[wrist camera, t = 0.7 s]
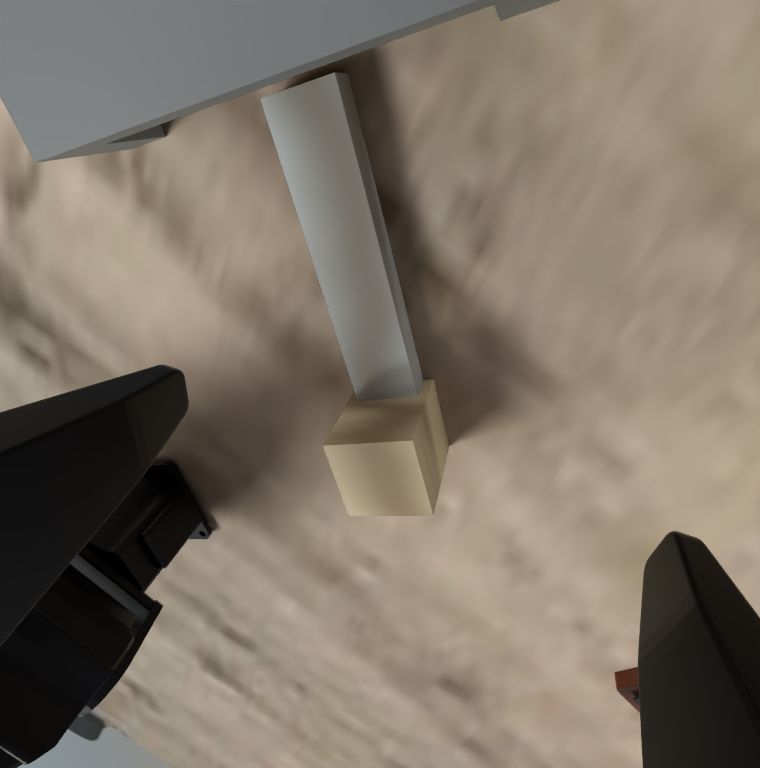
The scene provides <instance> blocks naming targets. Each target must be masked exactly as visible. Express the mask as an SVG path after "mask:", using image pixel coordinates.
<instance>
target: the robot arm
mask: <svg viewBox="0 0 760 768" xmlns="http://www.w3.org/2000/svg"><path fill="white" fill-rule="evenodd" d="M188 404H189V401H188V395H187V389H186V383H185V377H184V374H183V373H182V371H180V370H179V369H176V368H173V367H170V366H167V365H158V366H154V367H151V368H148V369H144V370H141V371H138V372H134V373H131V374H127V375H124V376H121V377H117V378H114V379H111V380H107V381H104V382H101V383H97V384H94V385H91V386H87V387H84V388H80V389H77V390H74V391H70V392H67V393H64V394H60V395H57V396H54V397H50V398H47V399H44V400H40V401H37V402H33V403H30V404H27V405H23V406H20V407H17V408H13V409H10V410H7V411H3V412H0V768H17V767H18V766H20V765H22V764H25V765H27V764H29V763H31V762H33V761H34V760H36V759H37V758H39V757H40V756H42V755H43V754H45V753H46V752H48V751H49V750H51V749H52V748H54V747H55V746H56V745H57V743H58V742H59V740H60V739H61V738H62V736H63V735H64V733H65V732H66V731H67V729H68V728H69V726H70V725H71V724H72V723H73V721H74V720H75V719H76V718H77V716H80V717H83V716H85V715H86V714H88V713H89V712H90V711H92V710H93V709H94V708H95V707H96V706H97V705H98V704H99V703H100V702H101V701H102V700H103V699H104V698H105V697H106V696H107V694H108V693H109V692H110V691H111V690H112V688H113V687H114V686H115V685H116V683H117V682H118V681H119V680H120V678H121V677H122V675H123V674H124V673H125V671H126V670H127V668H128V666H129V665H130V663H131V662H132V660H133V658H134V656H135V655H136V653H137V651H138V649H139V648H140V646H141V644H142V642H143V641H144V639H145V637H146V635H147V634H148V632H149V630H150V628H151V627H152V625H153V623H154V621H155V620H156V618H157V616H158V614H159V613H160V611H161V609H162V607H163V605H162V604H161V603H159V602H158V601H157V600H155V601H154V600H153V599H152V598H150V597H149V596H148V595H147V594H145V593H144V592H145V591H146V590H147V588H148V587H149V586H150V584H151V583H152V582H153V580H154V579H155V578H156V577H157V575H158V574H159V573H160V571H161V570H162V569H163V568H166V567H167V566H168V565H169V564H170V562H171V561H172V560H173V558H174V557H175V556H176V554H177V553H178V552H179V551H180V549H181V548H182V547H183V545H184V544H185V543H186V541H187V540H188V539H208V538H209V536H210V535H211V534H212V530H211V528H210V526H209V524H208V522H207V521H206V519H205V517H204V515H203V513H202V511H201V510H200V508H199V506H198V504H197V502H196V501H195V499H194V497H193V495H192V493H191V492H190V490H189V488H188V486H187V484H186V482H185V481H184V479H183V477H182V475H181V473H180V472H179V470H178V468H177V466H176V465H175V464H174V463H173V462H171V461H154V460H155V458H156V457H157V455H158V454H159V453H160V451H161V450H162V448H163V447H164V445H165V444H166V442H167V441H168V439H169V438H170V436H171V435H172V433H173V432H174V430H175V429H176V427H177V426H178V424H179V423H180V422H181V420H182V419H183V417H184V416H185V414H186V412H187V409H188ZM153 461H154V462H153ZM638 682H639V701H640V720H641V739H642V758H643V768H760V617H759V616H758V615H757V613H756V612H755V611H754V609H753V608H752V607H751V605H750V604H749V603H748V601H747V600H746V599H745V597H744V596H743V594H742V593H741V592H740V590H739V589H738V588H737V586H736V585H735V584H734V582H733V581H732V580H731V578H730V577H729V576H728V574H727V573H726V572H725V570H724V569H723V568H722V566H721V565H720V564H719V562H718V561H717V560H716V558H715V557H714V556H713V554H712V553H711V552H710V550H709V549H708V548H707V546H706V545H705V544H704V543H703V542H702V541H701V540H700V539H698V538H696V537H693V536H690V535H687V534H683V533H680V532H677V531H672V532H670V533H668V534H667V535H666V536H665V538H664V539H663V540H662V542H661V543H660V544H659V545H658V547H657V548H656V549H655V551H654V552H653V553H652V554H651V556H650V557H649V558H648V560H647V562H646V565H645V569H644V577H643V591H642V606H641V620H640V635H639V650H638Z"/></svg>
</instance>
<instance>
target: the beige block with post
mask: <svg viewBox="0 0 760 768" xmlns="http://www.w3.org/2000/svg"><path fill="white" fill-rule="evenodd" d="M260 99H261V102H262V105H263V109H264V112H265V115H266V118H267V121H268V124H269V127H270V130H271V133H272V137H273V140H274V143H275V146H276V149H277V152H278V155H279V158H280V161H281V165H282V168H283V171H284V174H285V177H286V180H287V183H288V186H289V190H290V193H291V196H292V199H293V202H294V205H295V208H296V211H297V214H298V218H299V221H300V224H301V227H302V230H303V233H304V236H305V239H306V242H307V246H308V249H309V252H310V255H311V258H312V261H313V264H314V267H315V270H316V274H317V277H318V280H319V283H320V286H321V289H322V292H323V295H324V298H325V302H326V305H327V308H328V311H329V314H330V317H331V320H332V323H333V327H334V330H335V333H336V336H337V339H338V342H339V345H340V348H341V351H342V355H343V358H344V361H345V364H346V367H347V370H348V373H349V376H350V379H351V383H352V386H353V389H354V393H353V395H352V396H351V398H350V400H349V402H348V403H347V405H346V407H345V408H344V410H343V412H342V414H341V415H340V417H339V419H338V420H337V422H336V424H335V425H334V427H333V429H332V431H331V432H330V434H329V436H328V437H327V439H326V441H325V442H324V444H323V448H324V451H325V454H326V456H327V459H328V462H329V464H330V467H331V470H332V472H333V475H334V478H335V480H336V483H337V486H338V488H339V491H340V494H341V496H342V499H343V502H344V504H345V507H346V510H347V512H348V515H349V516H433V515H434V510H435V506H436V502H437V497H438V493H439V488H440V484H441V480H442V475H443V471H444V467H445V462H446V458H447V454H448V449H449V443H448V439H447V435H446V430H445V426H444V422H443V417H442V413H441V409H440V405H439V400H438V396H437V392H436V388H435V383H434V379H429V380H423V376H422V372H421V368H420V364H419V360H418V356H417V352H416V348H415V344H414V340H413V336H412V332H411V327H410V323H409V319H408V315H407V311H406V307H405V303H404V299H403V295H402V291H401V287H400V283H399V279H398V275H397V271H396V266H395V262H394V258H393V254H392V250H391V246H390V242H389V238H388V234H387V230H386V226H385V222H384V218H383V214H382V209H381V205H380V201H379V197H378V193H377V189H376V185H375V181H374V177H373V173H372V169H371V165H370V161H369V157H368V152H367V148H366V144H365V140H364V136H363V132H362V128H361V124H360V120H359V116H358V112H357V108H356V104H355V100H354V96H353V91H352V87H351V83H350V79H349V75H348V74H346V73H336V72H334V73H331V74H329V75H326V76H323V77H320V78H317V79H314V80H312V81H309V82H306V83H303V84H300V85H297V86H294V87H292V88H289V89H286V90H283V91H280V92H277V93H275V94H272V95H269V96H266V97H263V98H260Z"/></svg>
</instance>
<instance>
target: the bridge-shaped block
mask: <svg viewBox="0 0 760 768" xmlns="http://www.w3.org/2000/svg"><path fill="white" fill-rule="evenodd" d="M556 1H558V0H0V97H1V99H2V101H3V103H4V105H5V107H6V108H7V110H8V112H9V114H10V116H11V118H12V120H13V122H14V124H15V125H16V127H17V129H18V131H19V133H20V135H21V137H22V139H23V141H24V142H25V144H26V146H27V148H28V150H29V152H30V154H31V156H32V158H33V159H34V161H35V163H36V162H43V161H50V160H57V159H64V158H71V157H78V156H85V155H92V154H99V153H106V152H113V151H120V150H127V149H132V148H135V147H138V146H141V145H143V144H146V143H149V142H152V141H155V140H158V139H161V138H164V137H166V135H165V133H164V130H163V128H162V126H161V124H163V123H165V122H168V121H171V120H174V119H177V118H179V117H182V116H185V115H188V114H190V113H193V112H196V111H199V110H202V109H204V108H207V107H210V106H213V105H215V104H218V103H221V102H224V101H227V100H229V99H232V98H235V97H238V96H240V95H243V94H246V93H249V92H252V91H254V90H257V89H260V88H263V87H265V86H268V85H271V84H274V83H277V82H279V81H282V80H285V79H288V78H290V77H293V76H296V75H299V74H302V73H304V72H307V71H310V70H313V69H315V68H318V67H321V66H324V65H327V64H329V63H332V62H335V61H338V60H340V59H343V58H346V57H349V56H352V55H354V54H357V53H360V52H363V51H365V50H368V49H371V48H374V47H377V46H379V45H382V44H385V43H388V42H390V41H393V40H396V39H399V38H402V37H404V36H407V35H410V34H413V33H415V32H418V31H421V30H424V29H427V28H429V27H432V26H435V25H438V24H440V23H443V22H446V21H449V20H452V19H454V18H457V17H460V16H463V15H465V14H468V13H471V12H474V11H477V10H479V9H482V8H485V7H488V6H490V5H493V4H494V5H495V8H496V10H497V13H498V15H499V18H500V20H504V19H507V18H509V17H512V16H515V15H518V14H521V13H524V12H527V11H530V10H532V9H535V8H538V7H541V6H544V5H547V4H550V3H553V2H556Z"/></svg>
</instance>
